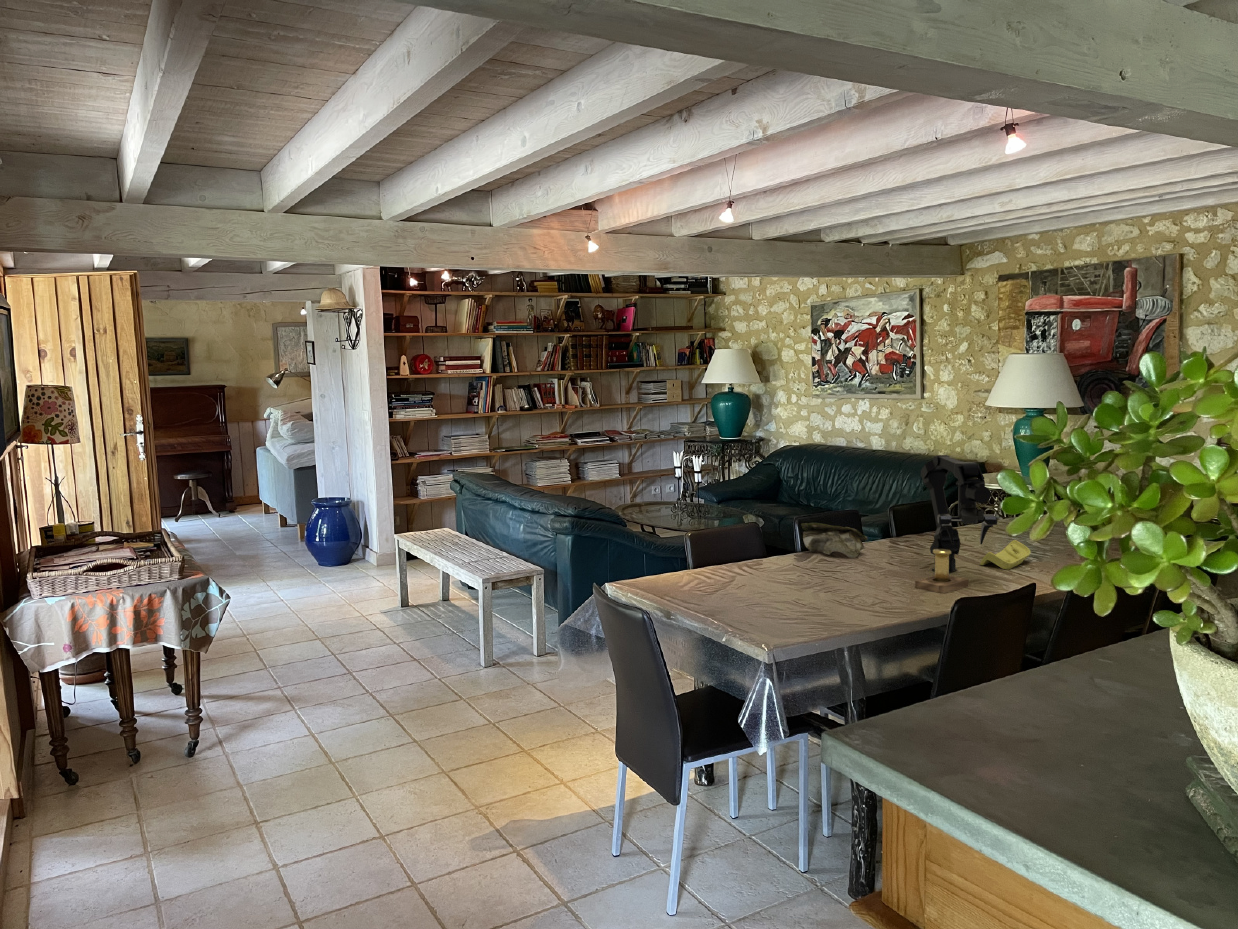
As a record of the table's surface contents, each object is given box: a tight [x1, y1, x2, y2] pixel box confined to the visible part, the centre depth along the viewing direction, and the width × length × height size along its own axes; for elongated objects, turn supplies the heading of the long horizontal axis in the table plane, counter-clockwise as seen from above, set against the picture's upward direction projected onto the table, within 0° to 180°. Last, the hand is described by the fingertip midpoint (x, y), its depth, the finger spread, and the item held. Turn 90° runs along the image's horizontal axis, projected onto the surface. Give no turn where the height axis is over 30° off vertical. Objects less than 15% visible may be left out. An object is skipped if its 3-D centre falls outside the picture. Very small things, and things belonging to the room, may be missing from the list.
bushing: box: [933, 549, 951, 582], centre depth 302 cm, size 6×6×12 cm
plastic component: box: [979, 539, 1031, 570], centre depth 333 cm, size 20×7×10 cm
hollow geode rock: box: [800, 522, 868, 559], centre depth 359 cm, size 28×13×15 cm
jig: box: [914, 574, 969, 594], centre depth 302 cm, size 11×14×2 cm
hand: (966, 544), depth 308 cm, fingers open, 9 cm apart
